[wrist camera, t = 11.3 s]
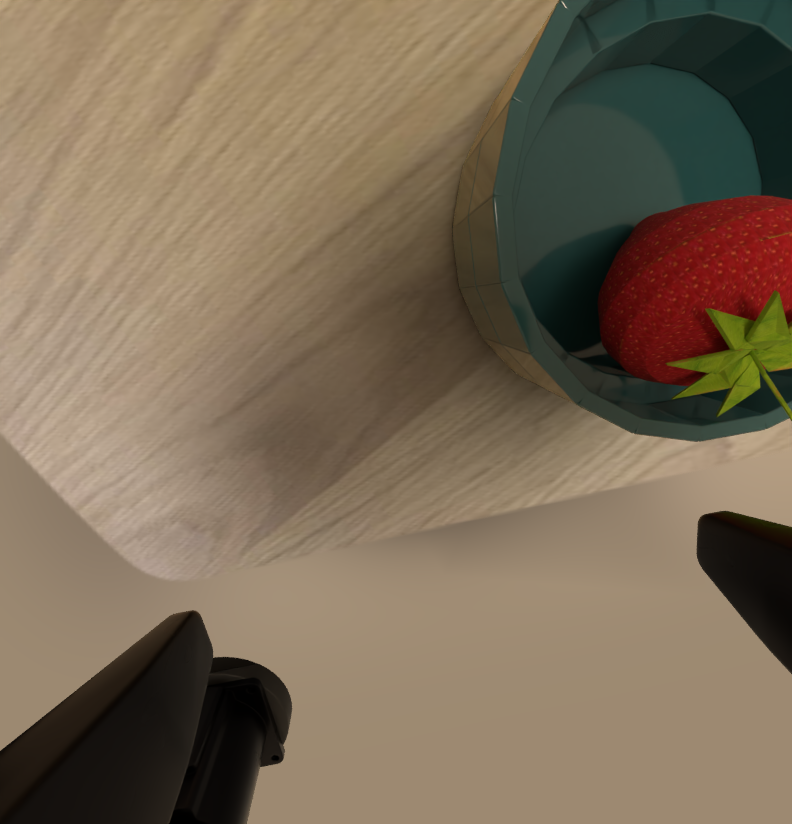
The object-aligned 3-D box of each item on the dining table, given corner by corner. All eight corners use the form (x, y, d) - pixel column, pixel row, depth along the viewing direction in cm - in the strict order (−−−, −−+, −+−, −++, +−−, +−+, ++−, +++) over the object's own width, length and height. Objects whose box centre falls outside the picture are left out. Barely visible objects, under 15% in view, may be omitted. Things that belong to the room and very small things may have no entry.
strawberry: (733, 257, 18) (933, 431, 12) (560, 310, 20) (650, 487, 14) (775, 107, 14) (1123, 252, 8) (551, 192, 16) (675, 367, 9)
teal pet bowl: (768, 367, 20) (944, 397, 14) (471, 421, 20) (518, 475, 14) (801, -5, 16) (1072, -194, 10) (427, 58, 16) (465, -96, 10)
